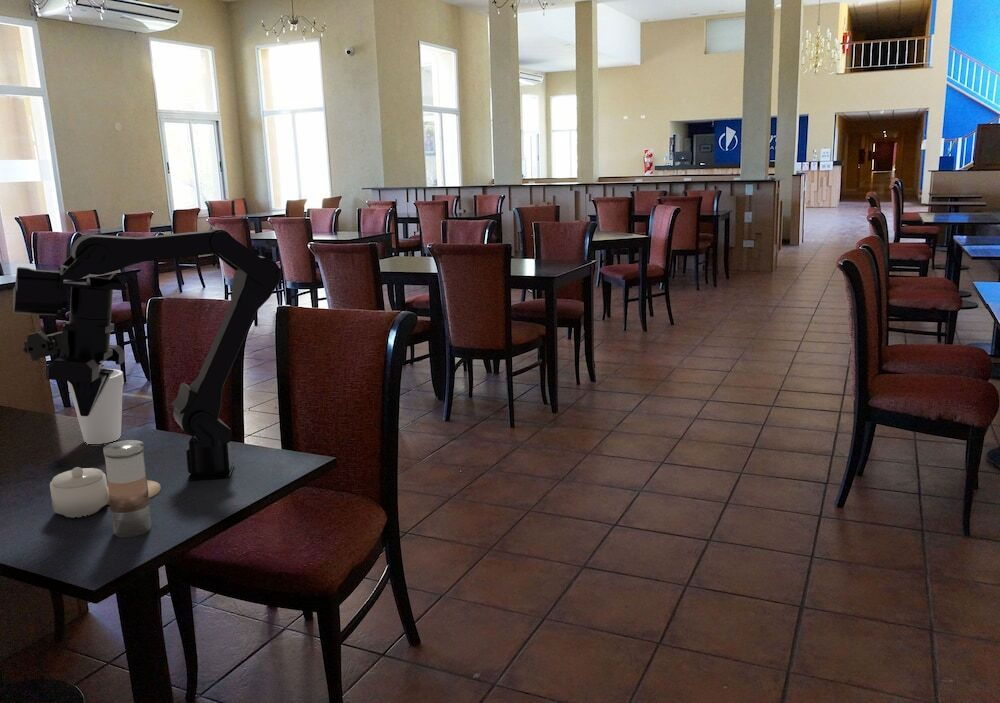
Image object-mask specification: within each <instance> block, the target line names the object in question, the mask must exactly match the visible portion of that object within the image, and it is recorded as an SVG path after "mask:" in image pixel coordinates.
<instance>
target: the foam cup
mask: <svg viewBox="0 0 1000 703" xmlns="http://www.w3.org/2000/svg"><path fill="white" fill-rule="evenodd" d="M110 369H111V370H114V371H113V373H112V375H111V376H110V378H109V380H108V382H107V383H106V385H105V387H104V389H103V391H102V392H101V394H100V396H99V398H98V400H97V402H96V404H95V406H94V407H93V409H92V411H91V413H90V415H89V416H81V415H80V411H79V408H78V404H77V400H76V396H75V392H74V389H73V386H72V384H71V383H70V382H69V381H67V386H68V391H69V392H70V395H71V399H72V403H73V405H74V410H75V412H76V416H77V420H78V424H79V427H80V428H79V429H80V431H81V434H82V439H83V441H84V443H85V442H86V443H87V444H86V443H85V444H86V445H88V444H102V443H108V442H113V441H116V440H118V439H119V438H120V436H121V435H122V414H123V412H122V411H123V390H124V389H123V386H124V384H125V382H124V380H125V379H124V372H123V371H122V370H121V369H115V368H113V369H112V368H110ZM121 437H122V436H121ZM120 439H121V438H120ZM120 439H119V440H120ZM119 440H118V441H119ZM116 442H117V441H116ZM113 443H114V442H113Z"/></svg>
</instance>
